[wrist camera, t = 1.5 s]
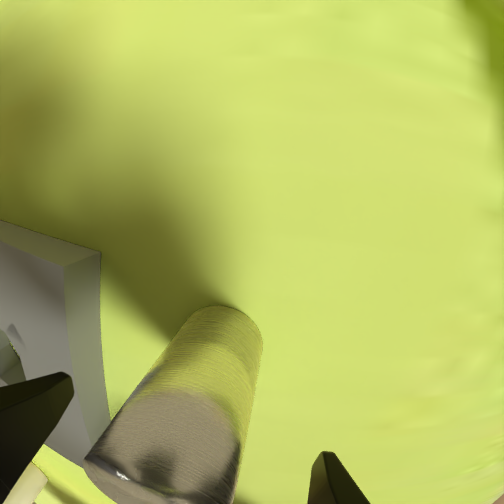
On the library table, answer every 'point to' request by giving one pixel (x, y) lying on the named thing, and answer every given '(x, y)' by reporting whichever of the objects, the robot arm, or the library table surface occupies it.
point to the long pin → (184, 417)
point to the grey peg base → (54, 329)
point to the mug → (27, 486)
